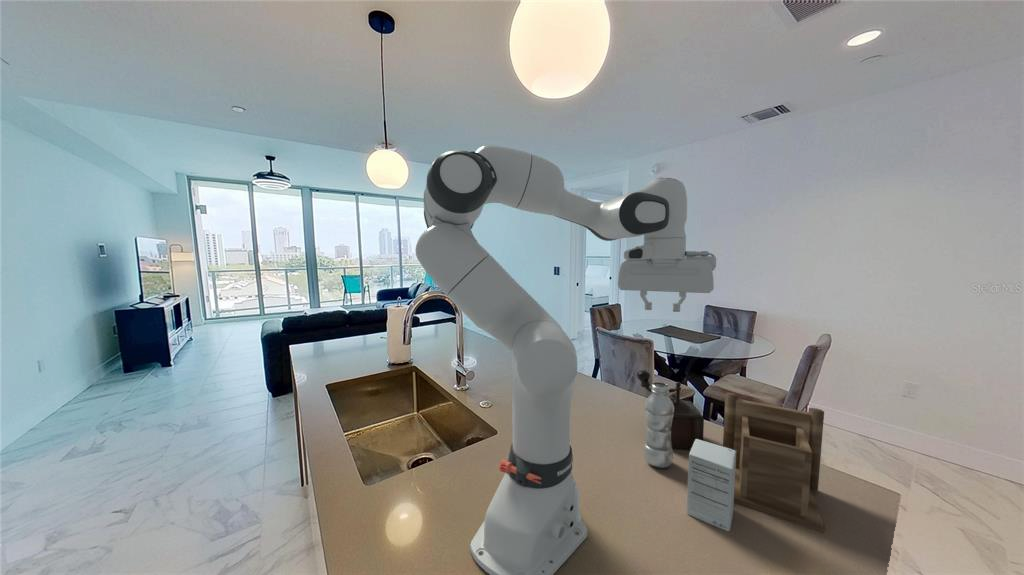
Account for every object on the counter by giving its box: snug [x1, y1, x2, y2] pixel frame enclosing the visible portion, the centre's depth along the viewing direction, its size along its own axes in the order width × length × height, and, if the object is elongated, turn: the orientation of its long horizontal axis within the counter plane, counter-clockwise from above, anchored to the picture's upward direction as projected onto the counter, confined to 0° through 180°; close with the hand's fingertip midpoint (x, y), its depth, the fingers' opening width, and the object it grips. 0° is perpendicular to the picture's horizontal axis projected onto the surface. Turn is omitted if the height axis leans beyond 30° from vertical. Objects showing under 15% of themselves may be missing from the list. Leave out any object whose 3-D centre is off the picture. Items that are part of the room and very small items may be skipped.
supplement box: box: [686, 439, 736, 533], centre depth 65 cm, size 7×7×13 cm
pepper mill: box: [636, 369, 705, 451], centre depth 92 cm, size 16×11×18 cm
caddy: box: [722, 392, 826, 533], centre depth 70 cm, size 14×17×18 cm
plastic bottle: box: [643, 381, 674, 469], centre depth 80 cm, size 6×7×20 cm
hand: (662, 310), depth 77 cm, fingers open, 5 cm apart
